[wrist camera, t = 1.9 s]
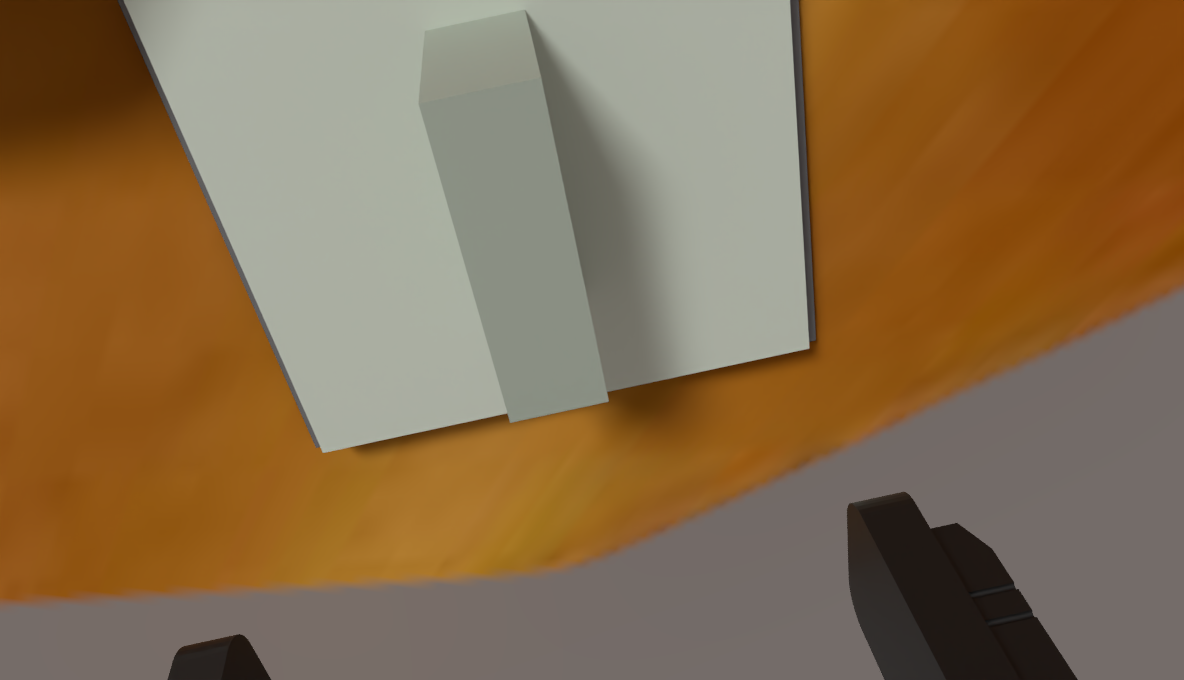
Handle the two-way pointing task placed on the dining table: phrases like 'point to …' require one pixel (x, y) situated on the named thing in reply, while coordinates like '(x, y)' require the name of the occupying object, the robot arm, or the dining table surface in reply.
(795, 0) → the mat
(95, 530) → the dining table surface
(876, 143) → the dining table surface
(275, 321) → the cover
